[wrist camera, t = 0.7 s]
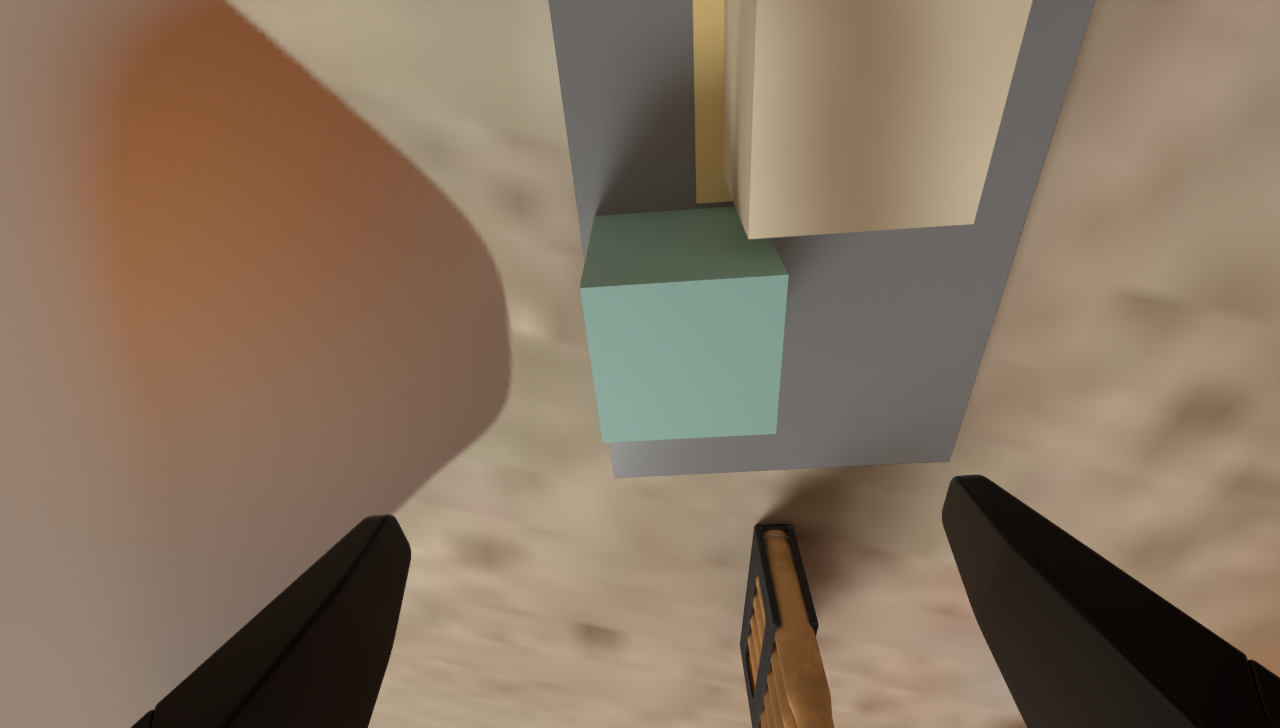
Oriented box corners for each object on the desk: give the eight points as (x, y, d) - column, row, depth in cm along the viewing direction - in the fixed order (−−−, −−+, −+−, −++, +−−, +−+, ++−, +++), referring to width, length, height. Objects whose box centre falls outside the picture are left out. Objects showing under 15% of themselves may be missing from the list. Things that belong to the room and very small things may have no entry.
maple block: (928, -44, 14) (1046, -53, 10) (892, 163, 17) (973, 223, 13) (724, -27, 14) (757, -27, 10) (722, 175, 17) (748, 239, 13)
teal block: (754, 205, 18) (788, 274, 14) (749, 341, 21) (776, 433, 16) (594, 215, 18) (579, 288, 14) (610, 349, 21) (602, 442, 17)
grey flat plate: (1126, -191, 13) (1161, -203, 12) (938, 445, 25) (950, 463, 24) (536, -134, 14) (528, -140, 13) (615, 461, 25) (614, 479, 24)
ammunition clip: (754, 523, 28) (817, 831, 18) (793, 522, 28) (877, 830, 18) (739, 645, 34) (780, 926, 24) (771, 645, 34) (825, 926, 24)
